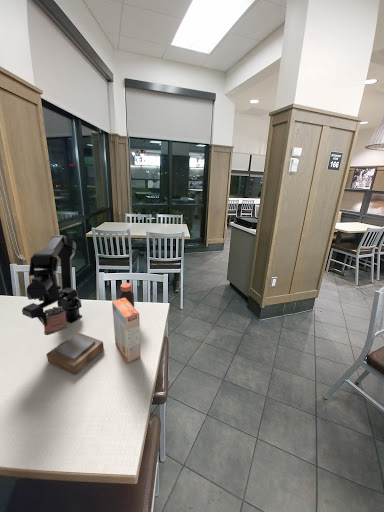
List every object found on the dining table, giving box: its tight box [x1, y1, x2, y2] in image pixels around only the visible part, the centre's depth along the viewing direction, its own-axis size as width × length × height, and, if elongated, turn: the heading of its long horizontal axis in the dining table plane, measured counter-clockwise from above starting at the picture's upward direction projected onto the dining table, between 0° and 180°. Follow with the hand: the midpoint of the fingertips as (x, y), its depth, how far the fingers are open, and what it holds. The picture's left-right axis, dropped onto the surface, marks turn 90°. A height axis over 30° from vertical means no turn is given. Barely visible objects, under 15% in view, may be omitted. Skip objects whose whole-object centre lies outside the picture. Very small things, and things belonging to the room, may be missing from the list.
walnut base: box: [46, 331, 105, 376], centre depth 88 cm, size 14×14×5 cm
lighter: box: [43, 306, 68, 336], centre depth 89 cm, size 8×3×10 cm, turn 141°
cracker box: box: [111, 298, 141, 364], centre depth 89 cm, size 14×6×21 cm, turn 37°
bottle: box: [118, 282, 135, 308], centre depth 108 cm, size 7×7×20 cm
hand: (55, 320), depth 89 cm, fingers closed on lighter, 8 cm apart
